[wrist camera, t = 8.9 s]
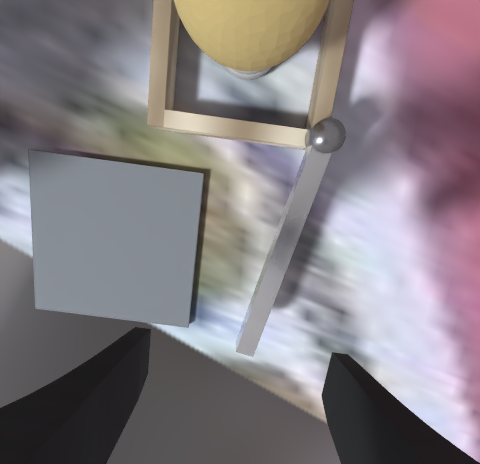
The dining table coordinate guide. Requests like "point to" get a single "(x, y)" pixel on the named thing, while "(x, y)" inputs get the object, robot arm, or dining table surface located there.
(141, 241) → the gray square panel
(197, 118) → the square wooden frame
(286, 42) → the light bulb
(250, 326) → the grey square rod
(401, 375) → the dining table surface
